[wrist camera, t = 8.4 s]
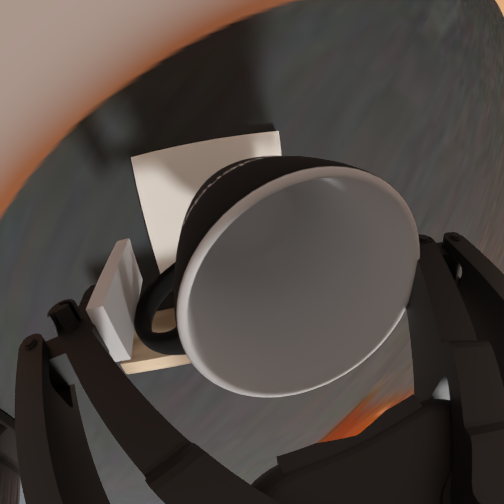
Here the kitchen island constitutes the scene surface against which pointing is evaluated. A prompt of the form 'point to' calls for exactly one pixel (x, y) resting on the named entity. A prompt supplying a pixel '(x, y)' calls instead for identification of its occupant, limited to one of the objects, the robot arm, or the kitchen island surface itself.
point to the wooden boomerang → (148, 358)
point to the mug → (285, 274)
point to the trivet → (187, 182)
